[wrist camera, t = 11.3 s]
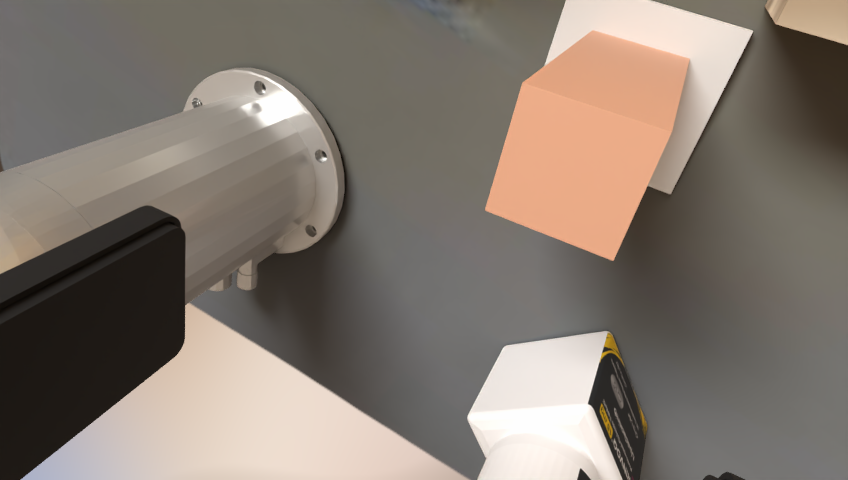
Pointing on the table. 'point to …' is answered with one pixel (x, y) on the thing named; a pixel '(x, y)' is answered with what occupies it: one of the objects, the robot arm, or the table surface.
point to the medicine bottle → (560, 413)
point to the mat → (675, 33)
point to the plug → (588, 141)
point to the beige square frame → (812, 17)
